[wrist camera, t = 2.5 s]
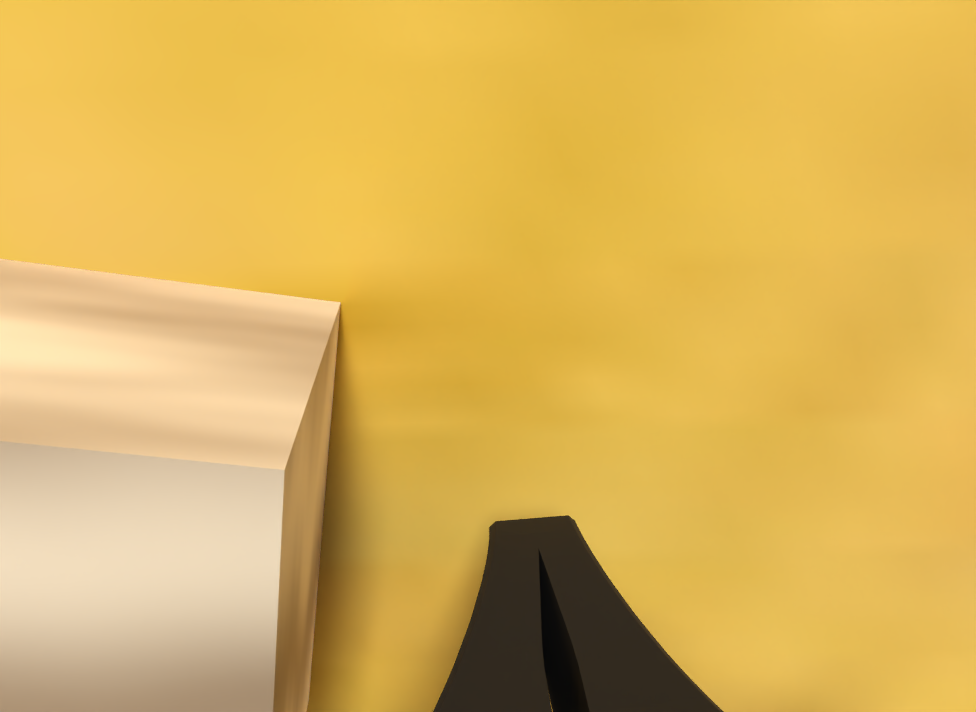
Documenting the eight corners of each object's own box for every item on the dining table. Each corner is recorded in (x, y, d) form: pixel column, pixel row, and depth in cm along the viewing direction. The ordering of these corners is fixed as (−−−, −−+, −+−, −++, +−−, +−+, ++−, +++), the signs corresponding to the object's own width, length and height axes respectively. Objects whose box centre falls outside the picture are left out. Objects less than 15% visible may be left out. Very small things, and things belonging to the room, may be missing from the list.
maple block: (310, 691, 17) (261, 942, 13) (-10, 670, 16) (-183, 930, 12) (342, 298, 13) (285, 470, 8) (-97, 241, 12) (-426, 396, 7)
